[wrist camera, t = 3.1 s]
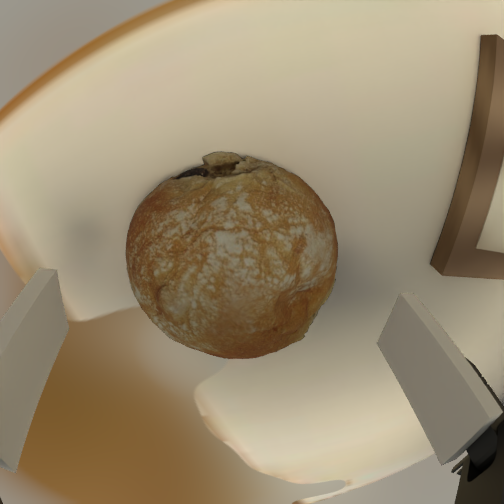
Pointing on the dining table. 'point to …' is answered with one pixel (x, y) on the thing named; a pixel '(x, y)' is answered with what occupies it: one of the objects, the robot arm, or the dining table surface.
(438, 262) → the walnut frame
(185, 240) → the bread roll
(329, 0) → the dining table surface
